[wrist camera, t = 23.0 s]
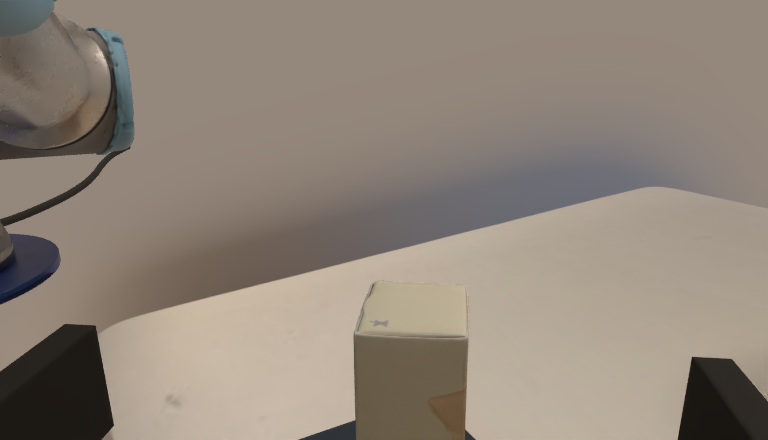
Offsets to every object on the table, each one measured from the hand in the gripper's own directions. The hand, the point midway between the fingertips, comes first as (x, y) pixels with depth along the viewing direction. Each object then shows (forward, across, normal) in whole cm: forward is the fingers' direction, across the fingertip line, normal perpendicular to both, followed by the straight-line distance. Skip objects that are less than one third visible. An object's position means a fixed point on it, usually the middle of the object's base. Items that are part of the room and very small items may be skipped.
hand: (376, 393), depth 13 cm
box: (+10, 0, -14) cm, 17 cm away
